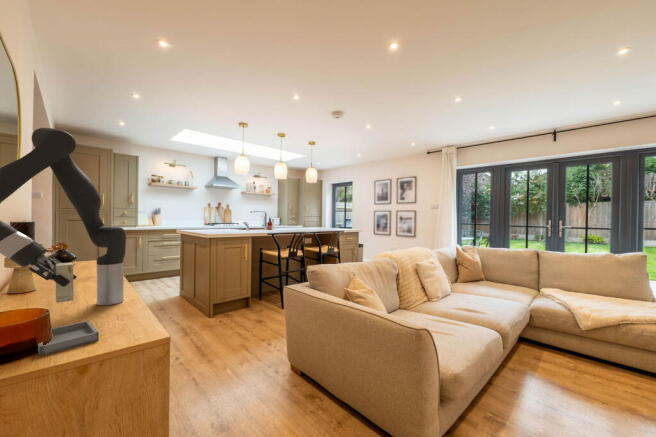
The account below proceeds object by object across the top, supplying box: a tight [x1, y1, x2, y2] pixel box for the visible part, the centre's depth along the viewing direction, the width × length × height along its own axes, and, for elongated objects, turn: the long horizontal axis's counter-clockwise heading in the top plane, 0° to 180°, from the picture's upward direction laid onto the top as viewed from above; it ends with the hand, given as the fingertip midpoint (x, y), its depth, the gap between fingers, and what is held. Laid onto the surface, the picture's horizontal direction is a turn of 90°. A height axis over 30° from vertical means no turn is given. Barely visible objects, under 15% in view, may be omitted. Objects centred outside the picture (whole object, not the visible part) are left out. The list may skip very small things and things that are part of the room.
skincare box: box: [55, 262, 75, 304], centre depth 93 cm, size 6×4×12 cm
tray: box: [37, 319, 100, 357], centre depth 85 cm, size 15×13×2 cm
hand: (70, 281), depth 94 cm, fingers closed on skincare box, 7 cm apart
